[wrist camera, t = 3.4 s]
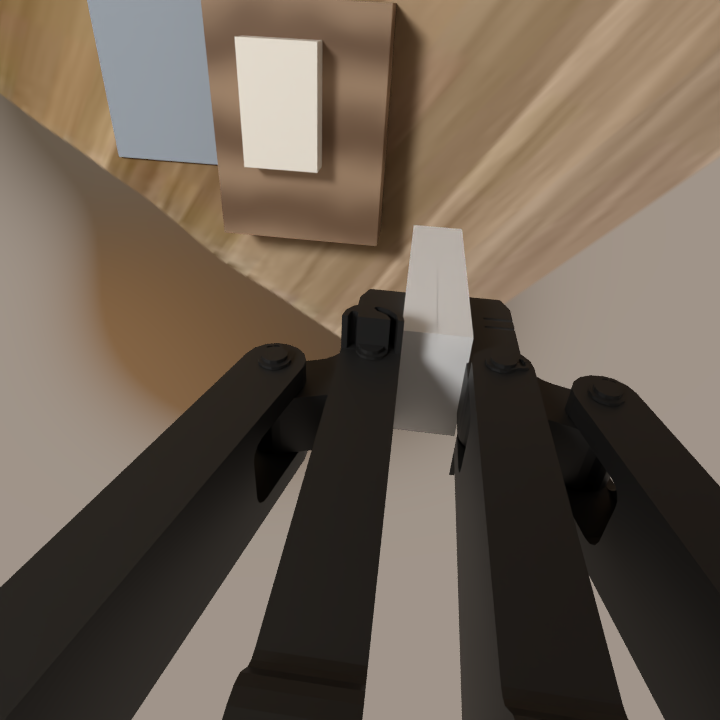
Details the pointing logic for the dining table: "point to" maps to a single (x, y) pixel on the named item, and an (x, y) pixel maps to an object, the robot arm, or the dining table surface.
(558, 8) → the dining table surface
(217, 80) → the brown wooden slab
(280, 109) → the white rectangular block
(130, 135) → the mat
